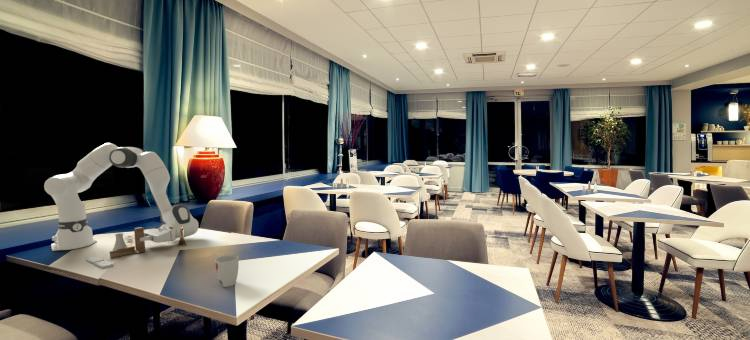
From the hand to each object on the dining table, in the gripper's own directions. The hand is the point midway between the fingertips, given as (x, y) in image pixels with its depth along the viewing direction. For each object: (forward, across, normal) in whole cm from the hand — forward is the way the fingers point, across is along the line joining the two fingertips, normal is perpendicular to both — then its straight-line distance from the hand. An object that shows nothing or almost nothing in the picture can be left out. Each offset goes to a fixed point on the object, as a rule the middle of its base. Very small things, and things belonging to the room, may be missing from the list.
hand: (137, 239), depth 176 cm
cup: (-1, +74, +7) cm, 75 cm away
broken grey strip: (+16, +1, +7) cm, 18 cm away
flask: (+5, -6, +7) cm, 11 cm away
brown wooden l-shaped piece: (+4, -8, +7) cm, 11 cm away
